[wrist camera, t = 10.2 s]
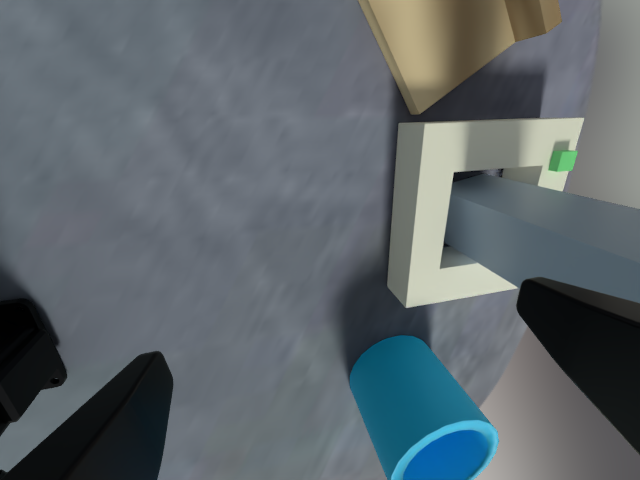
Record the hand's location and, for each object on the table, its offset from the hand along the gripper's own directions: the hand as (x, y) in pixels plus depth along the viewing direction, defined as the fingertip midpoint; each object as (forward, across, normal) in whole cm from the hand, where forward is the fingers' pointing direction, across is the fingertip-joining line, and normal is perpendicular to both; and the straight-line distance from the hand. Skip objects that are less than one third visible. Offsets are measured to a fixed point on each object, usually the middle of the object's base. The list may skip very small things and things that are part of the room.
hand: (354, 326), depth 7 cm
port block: (+14, -12, +3) cm, 18 cm away
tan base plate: (+14, -9, -9) cm, 19 cm away
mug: (+13, -7, +20) cm, 25 cm away
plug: (+14, -12, +3) cm, 18 cm away
